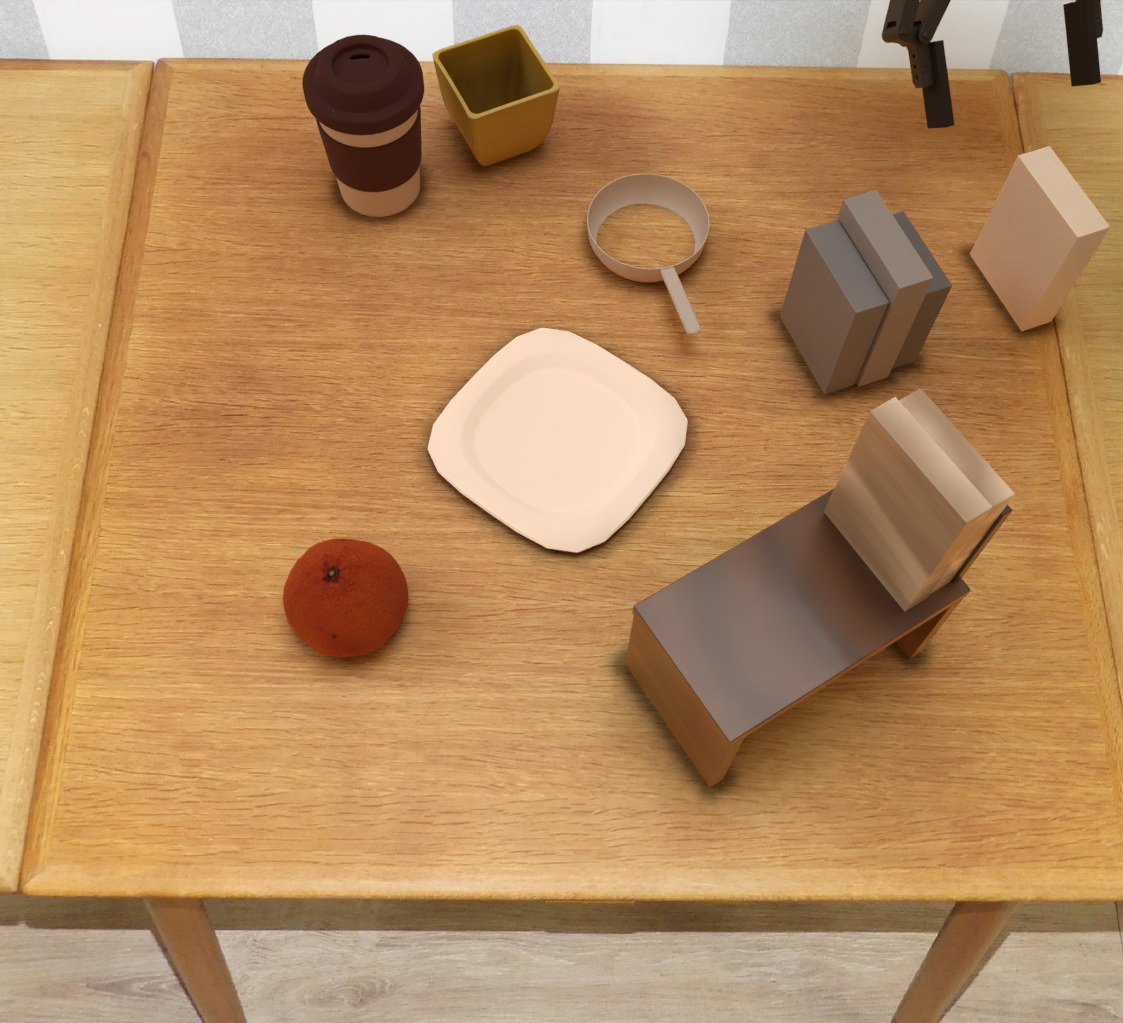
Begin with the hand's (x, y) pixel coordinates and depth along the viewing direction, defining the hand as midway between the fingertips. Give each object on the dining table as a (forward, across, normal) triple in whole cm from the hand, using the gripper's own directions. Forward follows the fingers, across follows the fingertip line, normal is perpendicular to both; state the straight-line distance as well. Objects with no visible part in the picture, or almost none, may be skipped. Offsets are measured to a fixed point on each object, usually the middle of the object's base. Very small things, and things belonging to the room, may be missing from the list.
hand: (1014, 106), depth 99 cm
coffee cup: (-5, +48, -26) cm, 55 cm away
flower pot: (-6, +36, -27) cm, 46 cm away
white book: (+16, 0, -4) cm, 17 cm away
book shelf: (+33, +35, +13) cm, 49 cm away
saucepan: (+7, +28, -13) cm, 32 cm away
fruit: (+23, +63, +2) cm, 67 cm away
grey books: (+16, +16, -4) cm, 23 cm away
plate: (+16, +43, -4) cm, 46 cm away
